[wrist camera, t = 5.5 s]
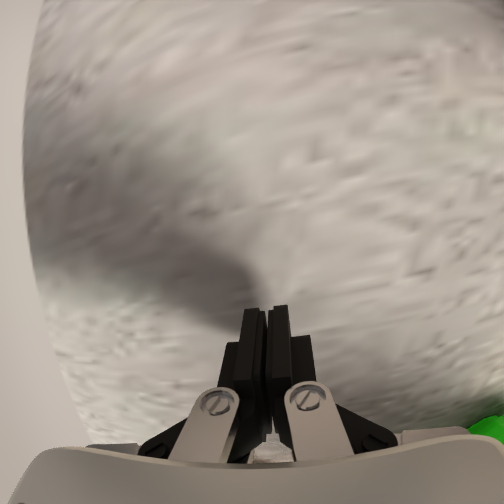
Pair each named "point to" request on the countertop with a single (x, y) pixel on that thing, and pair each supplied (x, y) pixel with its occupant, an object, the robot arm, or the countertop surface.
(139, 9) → the countertop surface
